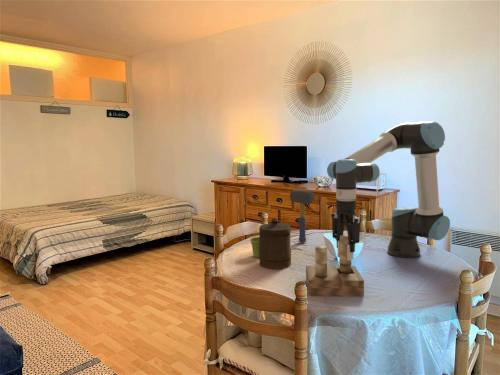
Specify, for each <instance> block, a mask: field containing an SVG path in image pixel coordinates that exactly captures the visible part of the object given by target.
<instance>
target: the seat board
mask: <svg viewBox="0 0 500 375" xmlns="http://www.w3.org/2000/svg"><path fill="white" fill-rule="evenodd" d="M314 249H315V252H314V253H315V254H314V257H315V260H314V261H315V264H314V265H306V266H305V279H306V280H305V281H307V282H306V286H307V291H308V296H310V297H364V296H365V279H364V278H363V276H362V274H360V272H359V270H358V267H357V266H356V265H351V272H348V273H345V272H341V271H340V265H328V247H327V246H324V245H317V246H315V247H314Z"/></svg>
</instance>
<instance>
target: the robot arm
mask: <svg viewBox="0 0 500 375" xmlns="http://www.w3.org/2000/svg"><path fill="white" fill-rule="evenodd" d="M445 140H446V135H445V130H444V128H443V126H442V125H440V124H439V123H438V122H436V121H419V122H418V121H416V122H404V123H400V124H398V125H395V126H392V127H391V128H390V129H387V130H386V131H384V132H382V133H381V134H380V135H379V137H378V138H377V139H375V140H373V141H371V142H370V143H369V144H367V145H365V146H363V147H362V148H360V149H358V150H357V151H355V152H353V153H352V154H350V155H348V156H347V157H346V158H344V159H342V158H341V159H338V160H337V161H332V162H329V164H328V165H327V168H326V172H327V175H328V177H329V178H331V179H333V180H335V199H336V200H335V209H336V212H334V213H331V215H330V216H331V219H332V220H331V221H332V225H331V226H332V228H331V229H332V230H331V233H332V238H333V239H335V241H336V248H337V258H340V235H344V232H345V227H346V232H347V235H348V239H349V243H348V244H347V260H348V261H350V260H351V261H353V260H354V259H355V258H354V257H355V256H354V253H355V251H356V244H358V243H360V239H361V238H360V237H361V236H360V235H361V234H360V232H361V222H362V218H361V217H357V216H356V209H357V200H356V199H357V184H359V183H360V184H361V183H371V182H374V181H375V182H376V180H378V179H379V177H380V172H381V170H380V168H379V166H378V164H376V163H374V161H376V160H377V159H379V158H380V157H382V156H384V155H386V154H387V153H392V152H394V151H396V150H400V149H401V150H402V149H410V154H411V155H412V157H413V158H414V166H415V177H416V189H417V190H416V191H417V204H418V207H415V206H404V207H396V208H394V209H392V212H391V235H390V236H391V238H390V240H389V242H388V245H387V253H388V254H389V255H390V256H391V255H392V256H394V257H399V258H410V259H411V258H416V257H419V256H420V255H421V249H420V246H419V243H418V239H417V237H420V238H424V239H429V240H430V241H431V240H433V241H441V240H443V239H444V238H445V237H446V236H447V234H448V233H449V230H450V226H451V220H450V218H449V217H448V216H447V215H444V209H443V208H442V207H440V200H439V199H440V197H439V183H438V181H439V180H438V167H437V166H438V165H437V155H438V153H440V148H442V147H443V146H444V145H445Z"/></svg>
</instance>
